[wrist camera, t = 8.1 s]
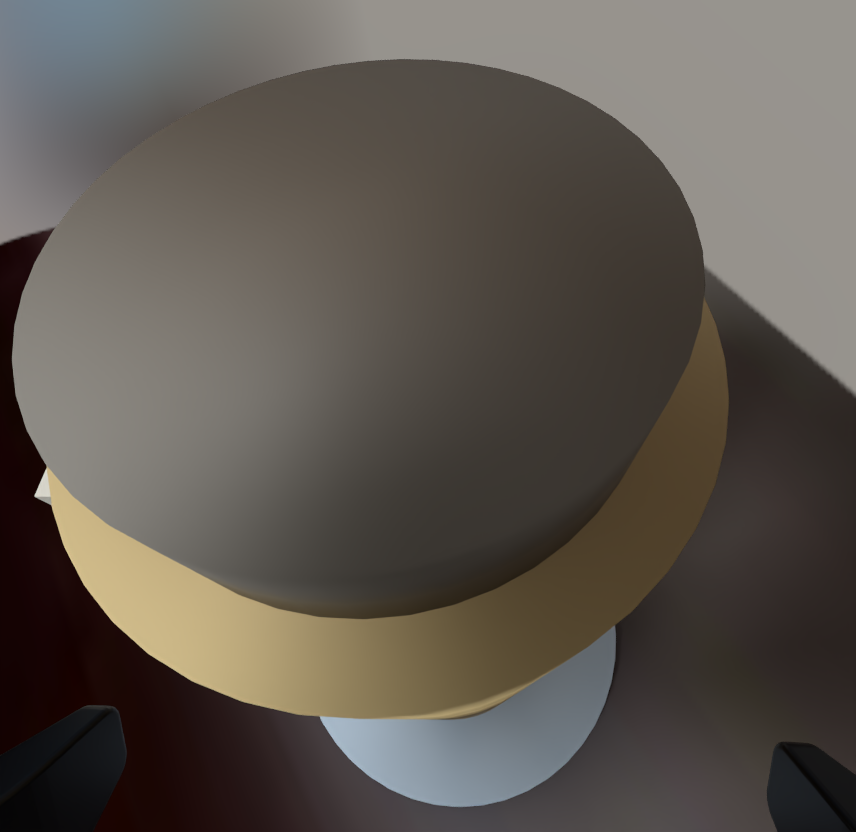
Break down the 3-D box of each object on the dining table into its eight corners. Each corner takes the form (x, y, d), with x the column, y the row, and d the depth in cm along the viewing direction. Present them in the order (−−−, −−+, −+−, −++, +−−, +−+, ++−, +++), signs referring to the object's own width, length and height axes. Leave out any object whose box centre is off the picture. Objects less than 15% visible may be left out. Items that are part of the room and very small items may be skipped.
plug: (506, 753, 14) (751, 1027, 2) (334, 673, 15) (-292, 468, 3) (559, 569, 16) (833, 69, 4) (405, 512, 17) (228, -1, 5)
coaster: (563, 877, 13) (565, 882, 12) (246, 711, 15) (241, 711, 15) (643, 532, 17) (646, 528, 16) (382, 441, 19) (380, 436, 18)
